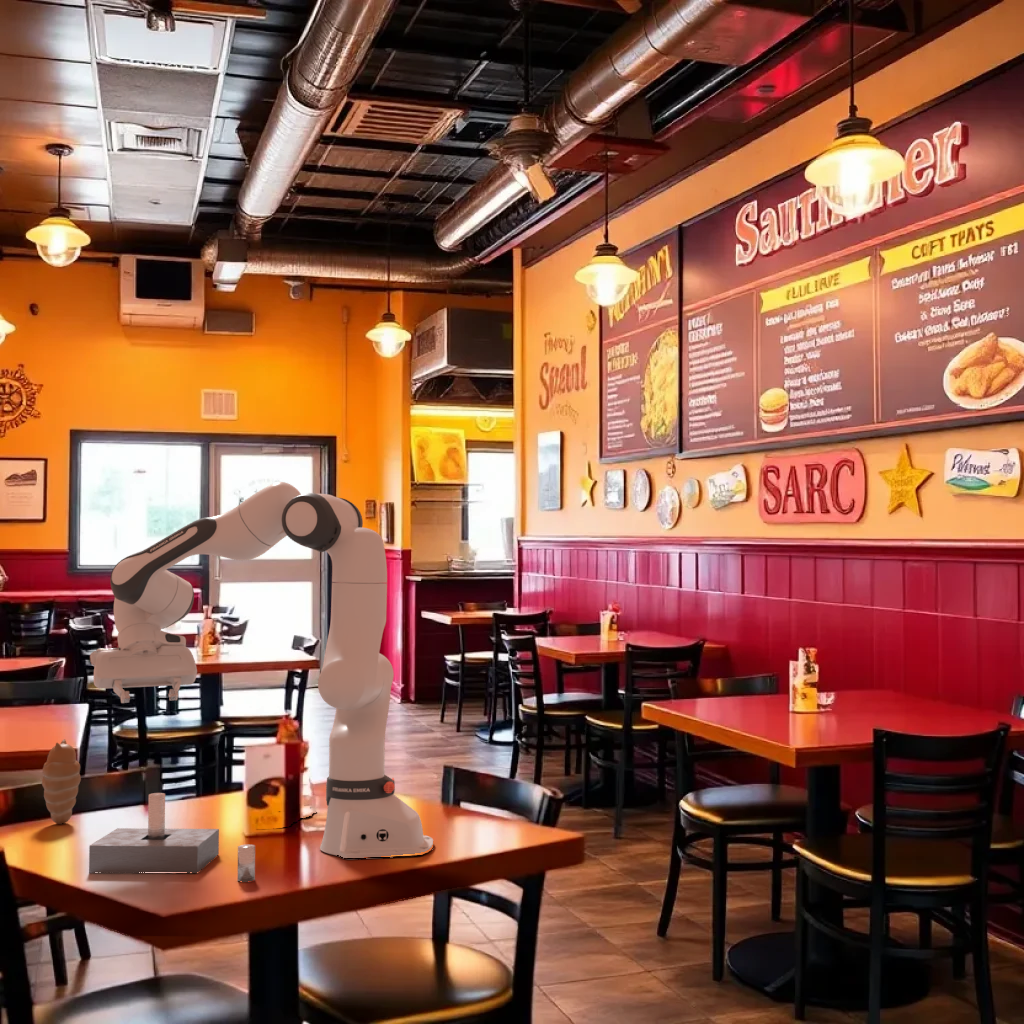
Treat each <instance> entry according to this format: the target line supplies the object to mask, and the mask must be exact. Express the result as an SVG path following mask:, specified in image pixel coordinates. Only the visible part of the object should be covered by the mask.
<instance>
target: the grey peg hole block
mask: <svg viewBox="0 0 1024 1024" xmlns="http://www.w3.org/2000/svg"><path fill="white" fill-rule="evenodd" d="M219 843H220V828H165V840H148V828H136V827H134V828H127V827H126V828H123V827H122V828H120V827H119V828H118V827H117V828H116V829H114V830H113V831H111V832H109V833H107V834H105V835H104V836H103V837H101V838H100V839H98V840H97V841H94V842H93V843H91V844H89V847H88V849H89V850H88V851H89V853H88V860H89V861H88V868H89V869H88V873H89V874H96V873H95V872H98V873H97V874H123V873H139V872H140V873H141V872H142V873H143V872H144V873H145V872H187V873H190V872H192V873H197V872H199V871H200V870H201V869H202V868H203V869H205V868H206V867H207V866H208V865H209V864H210V863H211V862H212V861H214V860H215V859H216V858H217V857H218V856H219V855H220V853H219V852H220V851H219V850H220V849H219V848H220V847H219V846H220V844H219ZM218 854H219V855H218ZM217 855H218V856H217ZM216 856H217V857H216ZM215 857H216V858H215ZM214 858H215V859H214ZM211 860H212V861H211ZM209 862H210V863H209ZM208 863H209V864H208ZM207 864H208V865H207ZM206 865H207V866H206ZM205 866H206V867H205ZM204 867H205V868H204ZM203 869H202V870H203ZM202 870H201V871H202ZM201 871H200V872H201ZM99 872H101V873H99ZM200 872H199V873H200Z"/></svg>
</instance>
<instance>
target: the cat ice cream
mask: <svg viewBox="0 0 1024 1024" xmlns="http://www.w3.org/2000/svg"><path fill="white" fill-rule="evenodd" d="M45 757H47V760H46V762H44V764H43V767H42V775H43V777H42V778H41V785H42V788H43V789H44V790H43V797H44V798H43V799H44V800H45V805H46V809H47V811H48V812H49V813H50V818H51V820H52V821H53V822H54V823H55V824H56V825H63V824H62V823H64V824H66V823H67V822H69V820H70V819H71V817H72V815H73V808H74V806H75V805H76V804H77V803H76V802H77V798H76V797H77V795H78V793H79V785H80V782H81V781H82V779H81V778H82V777H81V774H80V771H81V764H80V763H79V761H77V753H76V750H75V748H74V746H72V745H71V744H68V743H67V740H66V739H62V740H61V742H60V743H58V742H55V746H53V747H52V748H51V749H50V751H48V753H47V755H46V756H45Z"/></svg>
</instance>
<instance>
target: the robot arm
mask: <svg viewBox="0 0 1024 1024" xmlns="http://www.w3.org/2000/svg"><path fill="white" fill-rule="evenodd" d="M362 516H363V515H362V514H361V511H360V509H359V508H358V507H357V506H356V505H355V504H354V503H353V502H352V501H350V500H348V499H346V498H342V497H337V496H334V495H332V494H328V493H327V494H326V493H313V492H307V493H302V494H301V492H300V491H299V490H298V489H297V488H296V487H295V486H294V485H292V484H291V483H288V482H285V481H277V482H274V483H272V484H270V485H268V486H266V487H264V488H262V489H260V490H258V491H257V492H255V493H254V494H252V495H251V496H249V497H248V498H247V499H245V500H244V501H242V502H241V503H240V504H239V505H237V506H235V507H234V508H232V509H230V510H228V511H226V512H224V513H221V514H218V515H214V516H211V517H201V518H198V519H196V520H194V521H192V522H190V523H188V524H187V525H185V526H183V527H181V528H179V529H178V530H176V531H174V532H173V533H171V534H169V535H167V536H166V537H164V538H163V539H161V540H158V541H157V542H156V543H154V544H152V545H150V546H149V547H147V548H145V549H143V550H140V551H138V552H136V553H133V554H130V555H127V556H126V557H123V559H121V560H120V561H118V562H117V563H116V564H115V566H113V569H112V571H111V573H110V578H109V579H110V588H111V592H112V594H113V596H114V602H113V619H114V620H113V621H114V626H115V629H116V630H117V633H118V634H117V645H118V647H113V648H112V647H111V648H97V649H96V650H94V651H91V653H90V654H89V660H90V663H91V666H93V667H94V669H93V685H94V686H95V687H96V688H97V689H100V690H102V689H104V690H105V689H113V692H114V693H115V694H116V695H117V696H118V697H119V699H120V703H121V704H127V703H130V700H131V694H130V691H129V690H125V688H144V687H145V688H147V687H163V686H166V687H167V686H172V688H170V689H169V691H168V698H169V701H178V698H179V690H180V688H181V686H185V685H186V686H187V685H192V684H194V683H195V681H196V679H197V674H198V669H197V668H198V667H197V665H196V661H195V658H194V655H193V653H192V651H191V650H190V648H188V647H187V644H186V643H187V639H186V637H185V636H184V635H181V634H180V635H179V634H175V633H171V632H168V631H167V632H166V631H164V630H162V629H166V628H169V627H170V626H173V625H175V624H177V623H178V622H179V621H181V620H183V619H184V618H186V616H188V615H189V614H190V612H191V610H192V608H193V605H194V602H195V601H194V600H195V592H194V588H193V585H192V584H191V583H190V581H188V580H185V578H183V577H180V576H179V575H177V574H175V573H174V572H171V571H169V570H168V569H169V568H171V567H173V566H175V565H177V564H178V563H180V562H182V561H183V560H185V559H187V558H190V557H192V556H196V555H209V556H215V557H216V556H217V557H222V558H226V559H229V560H233V561H242V562H243V561H251V560H254V559H256V558H258V557H260V556H262V555H263V554H265V553H267V552H268V551H269V550H270V549H271V548H273V547H274V546H275V545H277V544H278V543H279V542H281V541H282V540H283V539H284V538H286V537H288V538H289V539H290V540H291V541H293V542H294V543H296V544H298V545H300V546H302V547H305V548H309V549H311V550H314V551H317V552H319V553H324V552H326V553H327V554H328V555H329V556H330V560H331V566H332V570H331V572H332V573H331V575H332V576H331V604H330V605H331V607H330V609H331V610H330V611H331V612H330V625H329V632H328V636H327V640H326V646H325V651H324V658H323V664H322V668H321V671H320V674H319V675H318V679H317V680H318V681H317V687H318V692H319V694H320V697H321V698H322V699H323V702H325V704H327V705H329V706H330V707H332V708H334V709H335V714H334V720H333V723H332V729H331V732H330V734H329V739H328V740H329V742H328V745H329V746H328V753H329V755H328V777H326V783H325V800H326V805H327V810H326V811H327V813H326V819H325V826H324V831H323V837H322V840H321V843H320V847H319V849H320V850H321V852H324V853H326V854H329V855H333V856H337V855H339V856H338V857H340V856H341V857H343V858H342V859H344V858H364V857H381V856H391V855H403V854H415V853H421V852H425V851H427V850H429V849H430V848H431V847H432V845H433V841H434V839H433V837H431V836H428V835H427V834H426V835H424V831H423V830H424V829H423V825H422V820H421V817H420V815H419V813H418V812H417V811H416V810H415V809H413V808H412V807H411V806H409V805H408V804H407V803H406V802H404V801H403V800H402V799H400V798H399V797H398V796H397V795H395V791H396V788H395V787H396V786H395V783H396V782H395V778H394V777H392V778H391V777H389V776H388V775H386V774H385V772H386V771H385V761H386V760H385V759H386V758H385V757H386V756H385V754H386V751H385V748H386V730H387V723H388V716H389V710H390V701H391V700H390V699H391V694H392V693H391V691H392V686H393V681H394V676H395V675H394V674H395V673H394V668H393V665H392V663H391V662H390V660H389V659H388V658H387V657H386V656H385V655H384V654H382V653H380V652H381V651H380V650H381V643H382V639H383V633H384V629H385V627H386V623H387V608H388V607H387V605H388V603H387V600H388V597H387V595H388V568H387V567H388V565H387V557H386V548H385V543H384V540H383V538H382V536H381V535H380V534H379V533H378V532H377V531H375V530H373V529H371V528H367V527H363V523H364V521H363V517H362ZM123 688H124V689H123ZM341 857H340V858H341Z"/></svg>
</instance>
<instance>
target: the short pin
mask: <svg viewBox="0 0 1024 1024" xmlns="http://www.w3.org/2000/svg"><path fill="white" fill-rule="evenodd" d="M255 875H256V845H255V844H240V845H239V846H237V882H238V881H242V882H248V881H253V880H254V881H255V880H256V878H255V877H256V876H255ZM254 881H253V882H254ZM248 883H249V882H248Z"/></svg>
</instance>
